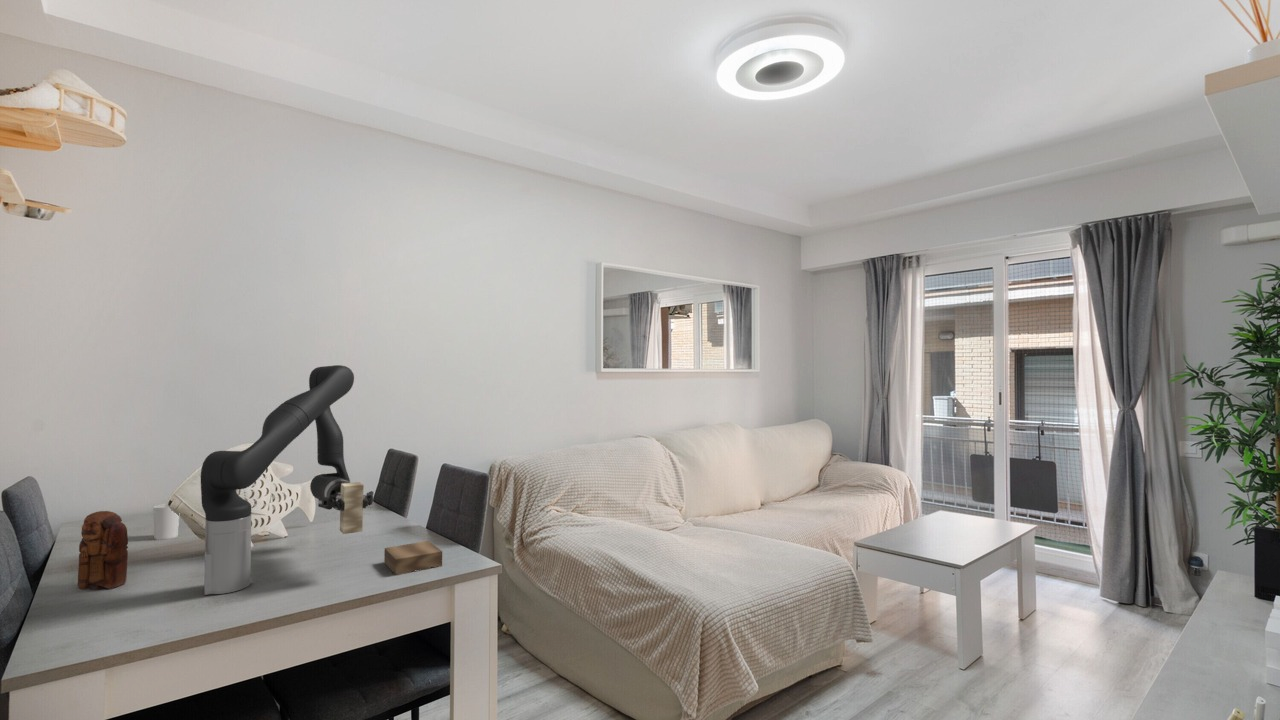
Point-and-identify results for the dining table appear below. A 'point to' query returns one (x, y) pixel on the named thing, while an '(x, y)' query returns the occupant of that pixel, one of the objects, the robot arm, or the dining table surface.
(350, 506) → the birch pillar
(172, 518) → the drinking glass
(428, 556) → the walnut plinth
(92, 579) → the wooden figurine
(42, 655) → the dining table surface
